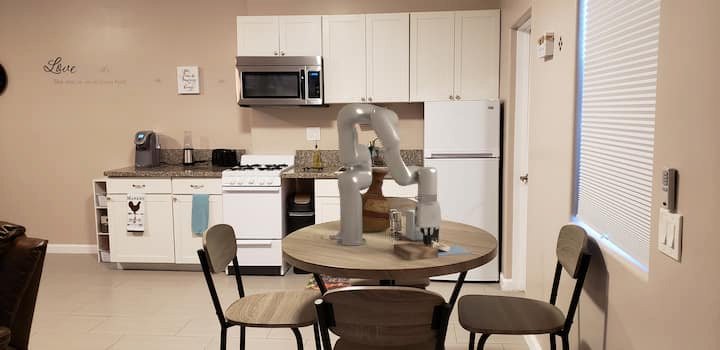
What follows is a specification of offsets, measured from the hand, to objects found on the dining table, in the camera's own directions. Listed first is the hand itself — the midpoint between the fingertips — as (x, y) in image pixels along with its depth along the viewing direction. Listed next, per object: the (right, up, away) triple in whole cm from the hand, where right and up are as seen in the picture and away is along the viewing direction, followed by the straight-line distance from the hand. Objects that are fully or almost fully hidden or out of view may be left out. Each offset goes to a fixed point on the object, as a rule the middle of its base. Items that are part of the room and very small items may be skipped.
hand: (427, 244), depth 219 cm
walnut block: (-5, -4, -1) cm, 6 cm away
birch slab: (+5, -1, +2) cm, 5 cm away
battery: (+4, -2, +19) cm, 20 cm away
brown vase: (-22, +1, +45) cm, 50 cm away
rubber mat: (+8, -3, +4) cm, 10 cm away
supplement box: (-1, -1, +28) cm, 28 cm away
